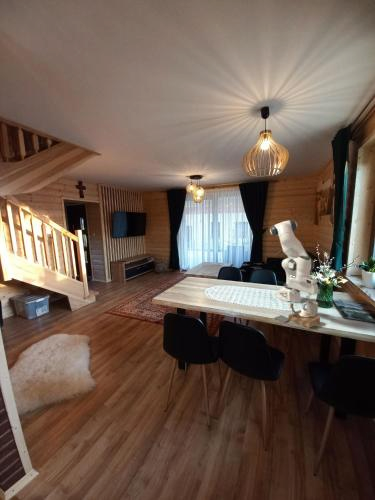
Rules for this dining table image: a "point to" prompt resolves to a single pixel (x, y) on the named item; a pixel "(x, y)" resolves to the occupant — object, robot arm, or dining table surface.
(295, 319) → the socket block
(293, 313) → the clip
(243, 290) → the dining table surface
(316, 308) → the cup
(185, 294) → the dining table surface
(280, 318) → the mat
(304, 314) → the plug
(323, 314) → the dining table surface
